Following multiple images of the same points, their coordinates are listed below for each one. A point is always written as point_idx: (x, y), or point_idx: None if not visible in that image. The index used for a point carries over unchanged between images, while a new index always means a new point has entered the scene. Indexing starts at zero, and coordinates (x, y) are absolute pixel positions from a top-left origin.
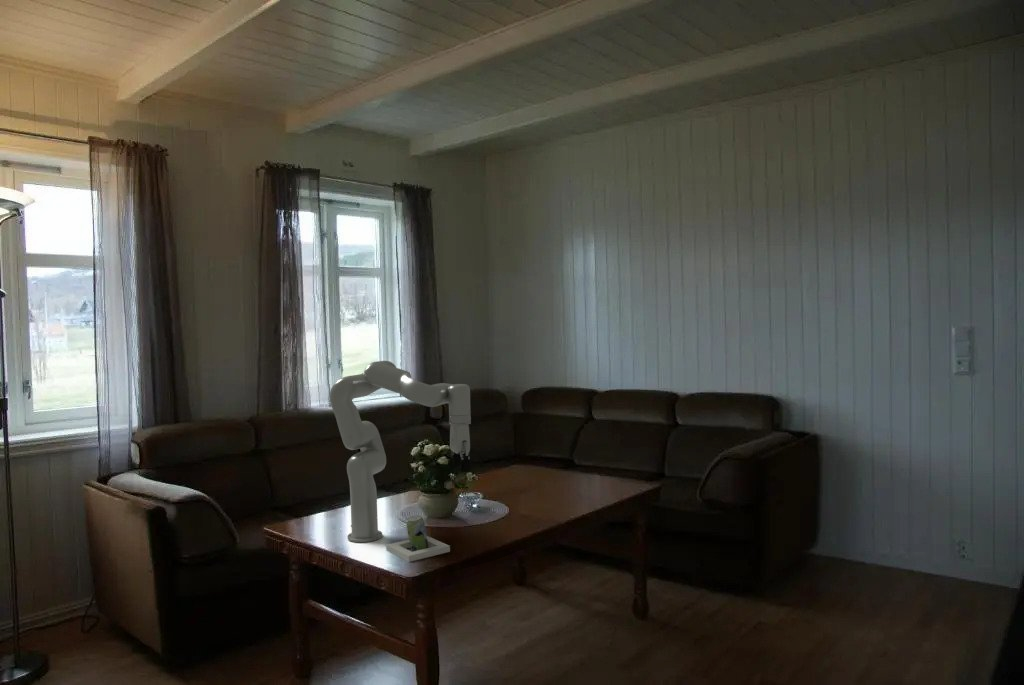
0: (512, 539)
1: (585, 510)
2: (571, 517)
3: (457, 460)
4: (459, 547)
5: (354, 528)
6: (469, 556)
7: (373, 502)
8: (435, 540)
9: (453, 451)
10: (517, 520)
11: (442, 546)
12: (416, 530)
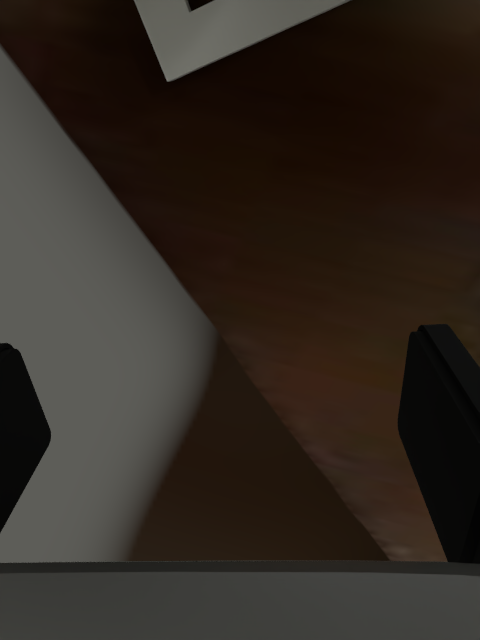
0: (246, 356)
1: None
2: (391, 547)
3: (431, 434)
4: (220, 140)
5: None
6: (84, 156)
7: None
8: (285, 17)
9: (90, 570)
10: None
11: (166, 37)
12: None
